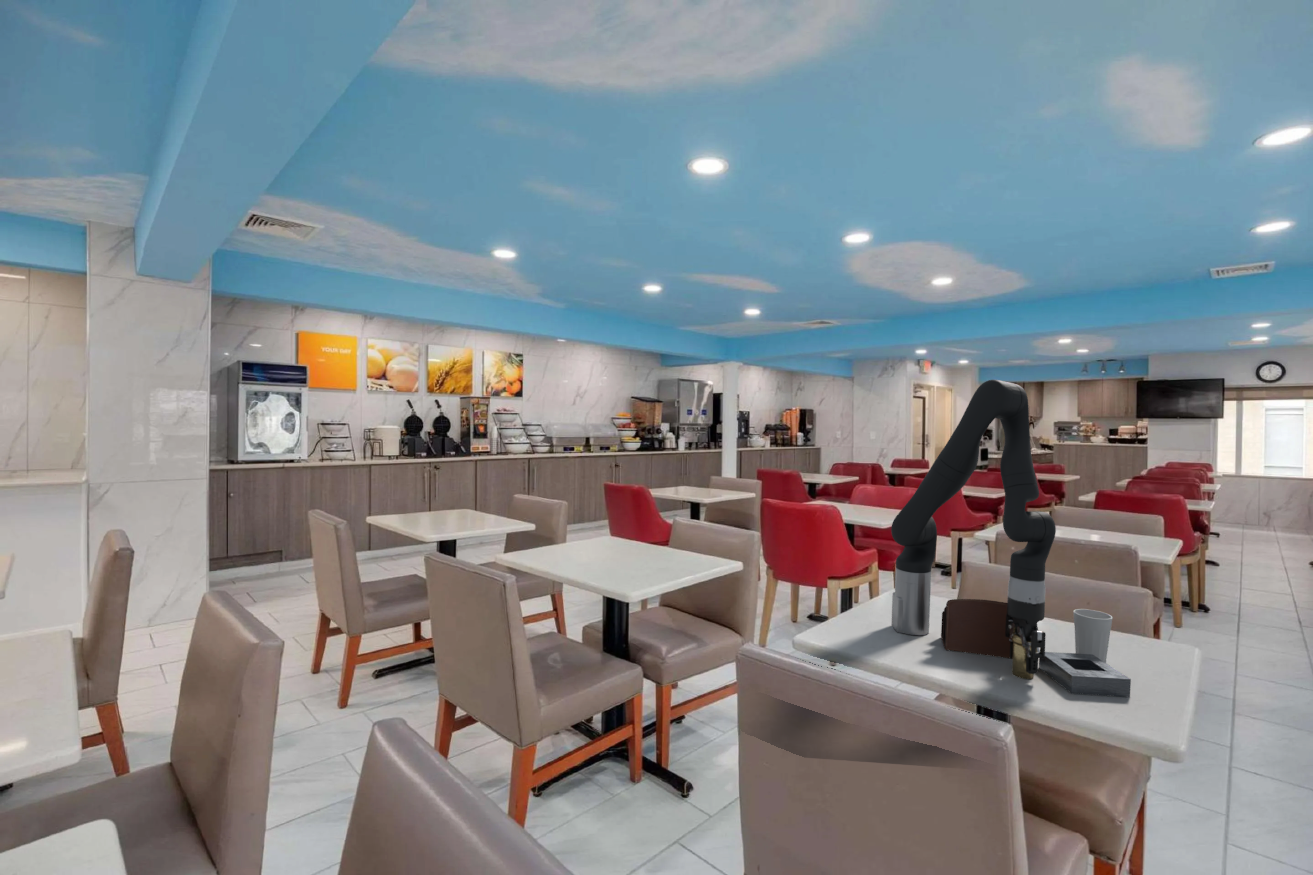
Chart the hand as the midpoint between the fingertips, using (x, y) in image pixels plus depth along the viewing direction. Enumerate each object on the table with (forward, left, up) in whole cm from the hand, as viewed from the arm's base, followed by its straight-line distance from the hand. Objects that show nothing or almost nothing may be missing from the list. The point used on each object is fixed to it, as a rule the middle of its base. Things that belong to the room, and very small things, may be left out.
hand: (1023, 665), depth 147 cm
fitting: (0, 0, -2) cm, 2 cm away
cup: (+21, +11, -2) cm, 24 cm away
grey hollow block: (+12, -2, -2) cm, 12 cm away
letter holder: (-2, +16, -3) cm, 17 cm away
